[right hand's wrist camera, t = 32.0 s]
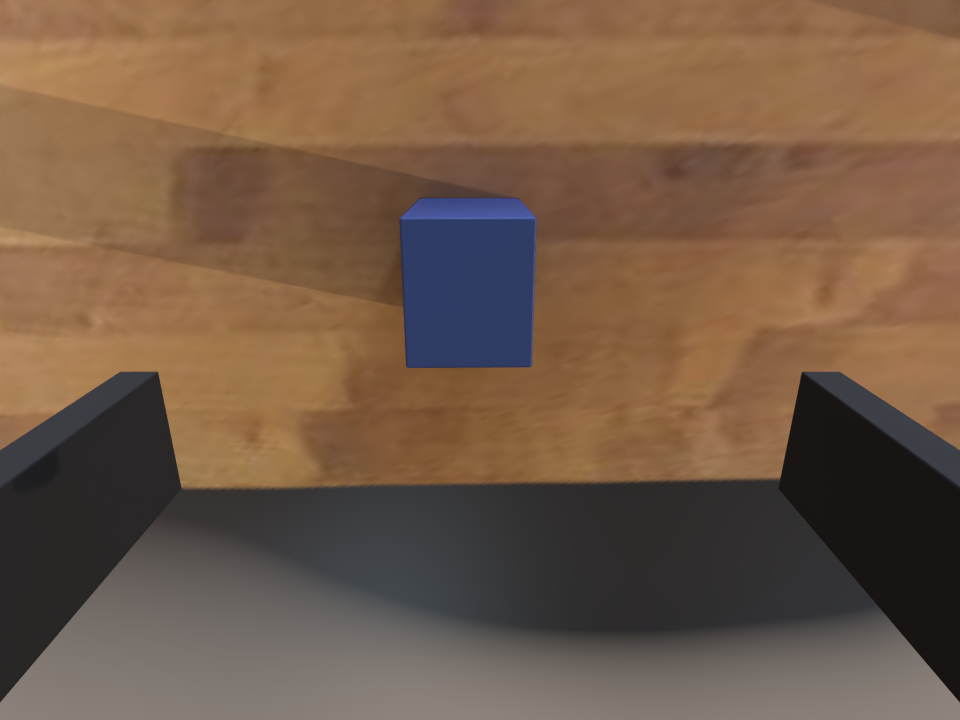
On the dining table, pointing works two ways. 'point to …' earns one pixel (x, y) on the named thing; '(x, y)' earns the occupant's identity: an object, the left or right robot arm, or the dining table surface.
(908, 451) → the right robot arm
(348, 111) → the dining table surface
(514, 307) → the brick
